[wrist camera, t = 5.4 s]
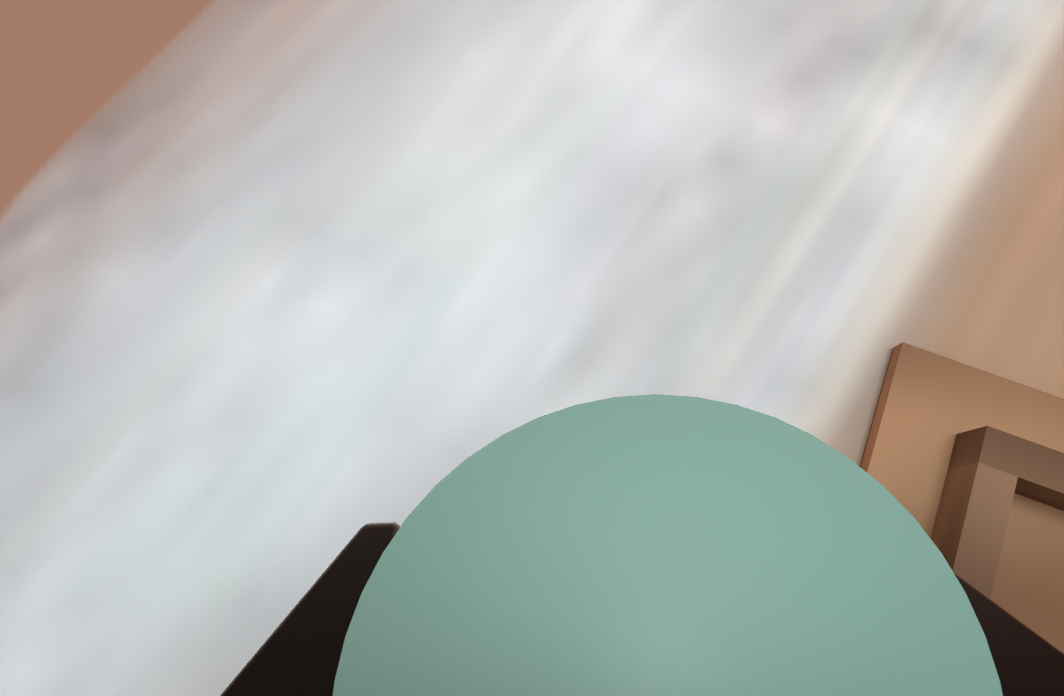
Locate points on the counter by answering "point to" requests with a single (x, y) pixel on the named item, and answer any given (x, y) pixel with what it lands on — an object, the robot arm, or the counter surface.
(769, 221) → the counter surface
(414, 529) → the green dome-top cylinder
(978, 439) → the cradle board
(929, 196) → the counter surface
